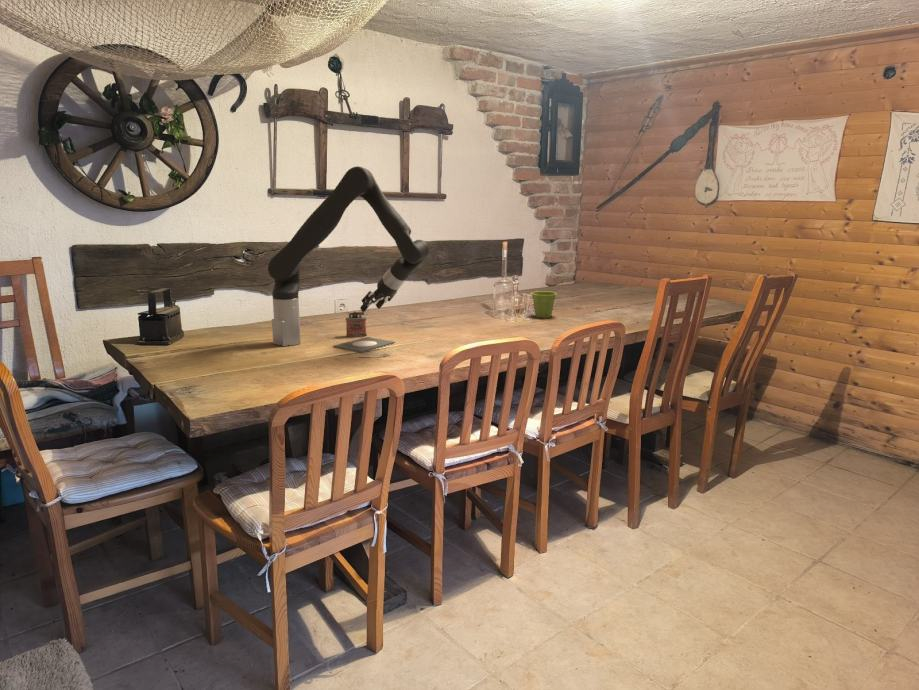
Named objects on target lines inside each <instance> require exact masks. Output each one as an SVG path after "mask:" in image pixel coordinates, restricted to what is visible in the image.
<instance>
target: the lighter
mask: <svg viewBox="0 0 919 690" xmlns="http://www.w3.org/2000/svg"><path fill="white" fill-rule="evenodd" d="M364 315H365V312H362V310H361V311H356V310H354V311H351V312H348V317H346V318H345V326H346V328H345V329H346V330H345V331H346V338H349V337H350V338H365V336H366V337H368V336H367V335H368V334H367V317H366V316H364Z"/></svg>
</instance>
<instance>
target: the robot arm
mask: <svg viewBox="0 0 919 690" xmlns="http://www.w3.org/2000/svg"><path fill="white" fill-rule="evenodd" d="M359 196H360V197H361V198H363V200H365V202H366V203H367V204H368V205H369V207H371V208H372V210H373V211H374V213H375V214H376V216H377V217H378V220H379V221H380V223H381V225H382V226H383V228H384V229H385V230H386V232H387V233H388V234H389V235H390V236H391V237H392V239H393V241H394V242H395V245H396V246H397V248H398V250H399V253H400V255H401V256H400V257H399V258H397V259H396V261H395V262H394V263H393V264H392V265H391V266H390V267H389V268H388V269H387V270H386V272H385V273H384V274H383V275H382V277H381V278H380V279H379V280H378V282H377V284H376V287H377V289H375V290H374V291H372V290H369V291H368V292H367V293H366V294H365V296H364V297H363V298H362V299H361V302H362V304H361V306H360V307H359V309H360V310H361V311H362V312H364V313H365V312H366V311H367V309H368V308H369V307H370V306H371V305H372V304H373V305H375V307H376V308H377V309H381V308H382V306H384V304H385V303H388V302H391V300H392V299H393V298H394V297H395V295H396V294H397V293H398V291H399V289H401V287H402V286H403V285H404V283H405V281H406V280H407V279H408V277H409V276H410V275H411V273H412V272H413V271H414V270H416V268H417V267H418V266H419V265H420V264H422V262H423V261H424V260H425V259H426V258H427V257H428V255H429V252H430V246H429V244H428V243H427V242H426V241H425V240H422V239H416V240H414V241H413V240H412V237H411V236H410V235H412V230H411V228H410V226H409V224H408V223H407V222H406V220H404V218H403V217H402V215H400V213H398V211H397V210H396V209H395V207H394V206H393V205H392V204H391V203H390V201H389V200H388V199H387V197H386V196H385V194H384V192H382V190H381V188H380V186H379V184H378V183H377V180H376V179H375V177H374V176H373V174H372V172H371V171H370V170H368V169H367V168H364V166H354V167H351V168H349V169H348V170H347V171H346V172H345V173H344V175H343V176H342V178H341V179H340V181H339V182H338V184H337V185H336V186H335V188H334V189H333V191H332V192H331V193H330V194H329V195H328V196H327V197H326V198H325V199H324V200H323V201H322V202H321V204H319V206H318V207H316V209H315V210H314V211H313V212H312V213H311V214H310V215H309V217H307V219H305V221H304V222H303V224H302V225H301V226H300V228H299V229H298V230H297V231H296V233H295V234H294V235H293V236H292V238H291V239H290V240H289V242H288V243H287V244H285V246H284V247H282V249H280V251H278V252H277V253H276V254H275V255H274V256H273V257H272V258H271V259H270V260H269V261H268V265H267V271H268V274H269V276H270V277H271V278H272V279H273V280H274V286H273V289H272V291H271V292H272V308H273V318H272V319H271V329H272V341H273V342H272V343H273V345H276V344H277V345H276V346H280V345H281V347H287V346H288V345H289V346H296V345H299V344H301V342H302V340H301V338H302V337H301V321H300V320H301V319H300V302H299V301H300V300H299V298H300V297H299V291H300V285H301V284H300V268H299V267H300V263H301V262H302V260H304V258H305V257H306V256H307V255H308V254H309V253H310V252H312V251H313V250H314V249H316V248H317V247H318V246H320V245H321V244H322V243H323V242H324V241H325V240H326V239H327V238H328V237H329V236H330V235H331V234H332V232H333V231H334V230H335V229H336V228H337V226H338V224H339V223H340V221H341V219H342V217H343V215H344V213H345V211H346V209H348V207H349V206H350V205H351V204H352V203H353V202H354V200H355V199H357V198H358V197H359Z"/></svg>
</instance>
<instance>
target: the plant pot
mask: <svg viewBox="0 0 919 690" xmlns="http://www.w3.org/2000/svg"><path fill="white" fill-rule="evenodd" d="M530 294H531V296H532V300H533V308H534V315H535V317H536V318H538V319H540V318H541V319H549V318H552V315H553V309H554V304H555V300H556V297H557V294H558V293H557V292H555V291H550V290H549V291H548V290H547V291H545V290H543V291H542V290H541V291H540V290H538V291H533V292H530Z"/></svg>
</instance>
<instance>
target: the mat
mask: <svg viewBox="0 0 919 690" xmlns="http://www.w3.org/2000/svg"><path fill="white" fill-rule="evenodd" d="M393 343H395V344H396V341H392V340H387V339H381V338H374V337H370V336H366V337H360V338H358V339H353V340H350V341H346V342H342V343H339V344H335V345H333V348H336V349H341V350H346V351H351V352H355V353H361V354H362V353H365V352H369V351H373V349H374V350H376V348H377V349H381V348H383V346H384V347H387V346H386V345H388V346H390V345H389V344H391V345H394V344H393ZM380 347H381V348H380Z"/></svg>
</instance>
